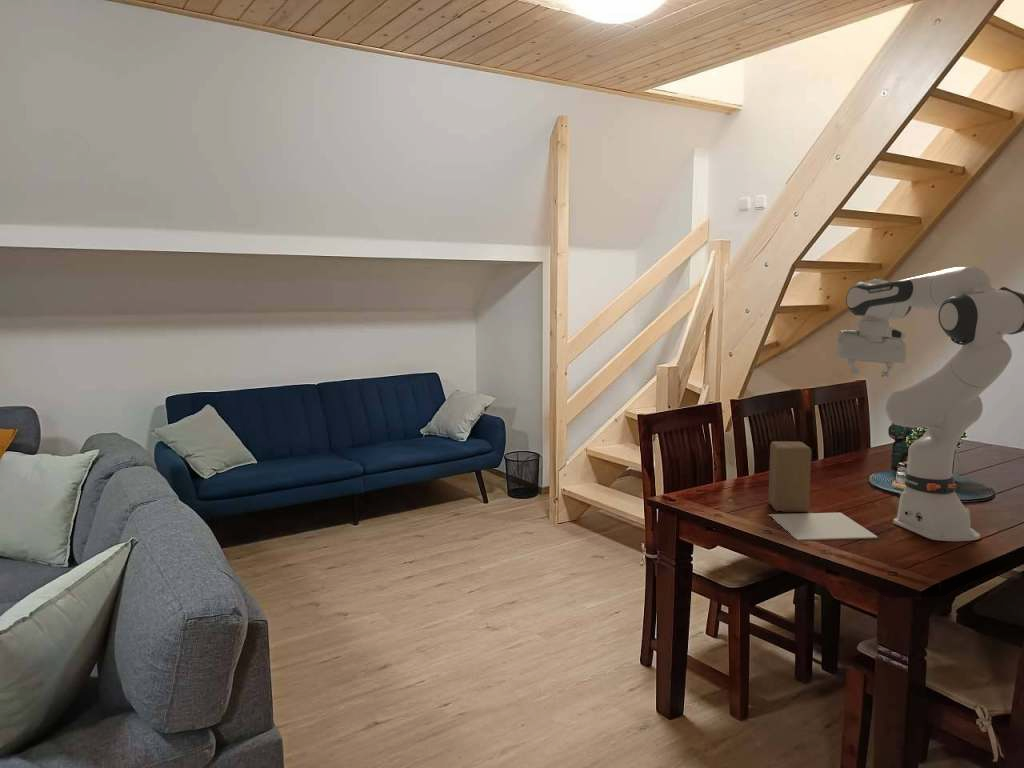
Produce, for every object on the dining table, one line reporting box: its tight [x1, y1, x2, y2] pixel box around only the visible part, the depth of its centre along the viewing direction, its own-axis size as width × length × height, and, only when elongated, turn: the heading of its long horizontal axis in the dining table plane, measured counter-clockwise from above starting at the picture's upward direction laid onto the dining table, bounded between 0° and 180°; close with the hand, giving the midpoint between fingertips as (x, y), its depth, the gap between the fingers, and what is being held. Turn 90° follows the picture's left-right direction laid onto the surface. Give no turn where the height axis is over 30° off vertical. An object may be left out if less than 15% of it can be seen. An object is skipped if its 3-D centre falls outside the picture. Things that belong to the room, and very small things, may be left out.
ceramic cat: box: [887, 422, 914, 469], centre depth 264 cm, size 20×6×20 cm, turn 37°
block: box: [767, 440, 812, 513], centre depth 224 cm, size 10×10×20 cm
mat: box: [767, 512, 879, 541], centre depth 208 cm, size 21×22×1 cm
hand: (869, 376), depth 229 cm, fingers open, 8 cm apart
